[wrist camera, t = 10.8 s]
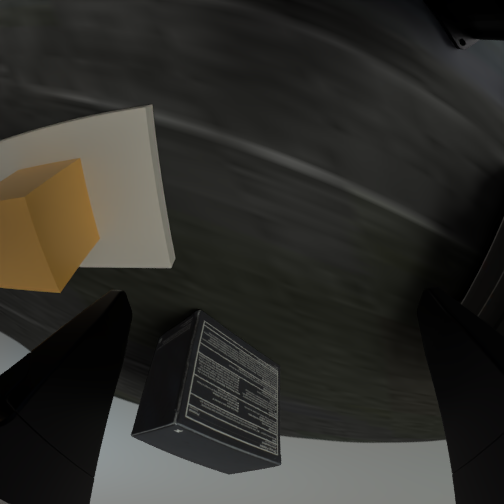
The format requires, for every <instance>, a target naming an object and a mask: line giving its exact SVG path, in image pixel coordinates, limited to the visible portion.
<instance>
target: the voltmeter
mask: <svg viewBox="0 0 504 504" xmlns="http://www.w3.org/2000/svg"><path fill="white" fill-rule="evenodd" d="M459 303H460V304H462V305H463V306H465V307H466V308H467V309H469V310H470V311H471V312H473V313H474V314H475V315H477V316H478V317H479V318H481V319H482V320H483V321H485V322H486V323H487V324H488V325H490V326H491V327H492V328H494V329H495V330H496V331H497V332H499V333H500V334H501V335H503V336H504V218H503V220H502V222H501V225H500V227H499V229H498V232H497V234H496V236H495V238H494V241H493V243H492V245H491V247H490V249H489V251H488V254H487V256H486V258H485V260H484V262H483V264H482V266H481V268H480V270H479V272H478V274H477V276H476V277H475V279H474V281H473V283H472V285H471V287H470V289H469V290H468V292H467V294H466V296H465V298H464V299H463V300H462V301H460V302H459Z"/></svg>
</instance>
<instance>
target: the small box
mask: <svg viewBox="0 0 504 504" xmlns="http://www.w3.org/2000/svg"><path fill="white" fill-rule="evenodd" d="M131 436H132V437H134V438H136V439H138V440H141V441H143V442H145V443H147V444H149V445H152V446H154V447H156V448H159V449H161V450H163V451H166V452H168V453H170V454H173V455H176V456H178V457H180V458H183V459H186V460H188V461H191V462H194V463H196V464H199V465H202V466H205V467H208V468H211V469H214V470H217V471H220V472H223V473H226V474H235V473H242V472H247V471H253V470H259V469H265V468H270V467H275V466H279V465H281V454H280V366H279V365H278V364H276V363H275V362H273V361H272V360H270V359H269V358H268V357H266V356H265V355H263V354H262V353H260V352H259V351H257V350H256V349H255V348H253V347H252V346H250V345H249V344H247V343H246V342H245V341H243V340H242V339H240V338H239V337H238V336H236V335H235V334H233V333H232V332H230V331H229V330H228V329H226V328H225V327H224V326H222V325H221V324H220V323H218V322H217V321H215V320H214V319H213V318H211V317H210V316H209V315H207V314H206V313H205V312H203V311H202V310H198V311H196V312H194V313H193V314H191V316H190V317H187V318H186V319H185V320H184V321H182V322H181V323H180V324H178V325H177V326H175V327H174V328H172V329H171V330H168V331H167V332H166V333H164V334H163V335H162V336H161V337H160V338H159V340H158V344H157V347H156V350H155V354H154V357H153V360H152V363H151V367H150V370H149V374H148V377H147V381H146V384H145V387H144V391H143V394H142V398H141V401H140V405H139V408H138V412H137V416H136V419H135V423H134V427H133V430H132V433H131Z"/></svg>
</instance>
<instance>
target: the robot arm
mask: <svg viewBox="0 0 504 504" xmlns="http://www.w3.org/2000/svg"><path fill="white" fill-rule="evenodd" d="M424 1H425V3H426V4H427V5H428V7H429V8H430V9H431V11H432V12H433V14H434V15H435V16H436V18H437V19H438V21H439V22H440V24H441V25H442V27H443V28H444V30H445V31H446V33H447V34H448V36H449V37H450V39H451V40H452V42H453V44H454V45H455V46H456V48H458V49H462V50H465V49H467V48H469V47H470V46H471V45H473V44H474V43H476V42H477V41H479V40H480V39H481V40H503V41H504V0H424ZM460 39H461V40H462V45H461V44H460V42H459V40H460ZM417 316H418V320H419V325H420V330H421V335H422V340H423V345H424V350H425V355H426V359H427V363H428V366H429V370H430V373H431V377H432V381H433V384H434V388H435V392H436V396H437V400H438V404H439V408H440V413H441V417H442V422H443V426H444V431H445V436H446V441H447V446H448V452H449V457H450V463H451V469H452V473H453V474H452V477H453V484H454V492H455V501H456V504H504V336H503V335H501V334H500V333H499V332H497V331H496V330H495V329H494V328H492V327H491V326H490V325H488V324H487V323H486V322H485V321H483V320H482V319H481V318H479V317H478V316H477V315H475V314H474V313H473V312H471V311H470V310H469V309H467V308H466V307H465V306H463V305H462V304H460V303H459V302H458V301H456V300H455V299H454V298H452V297H451V296H449V295H448V294H447V293H445V292H444V291H442V290H441V289H440V288H438V287H428V288H426V289H425V290H424V292H423V295H422V297H421V300H420V303H419V306H418V309H417ZM131 321H132V310H131V307H130V304H129V301H128V298H127V295H126V293H125V292H124V291H123V290H111V291H109V292H108V293H107V294H105V295H104V296H103V297H101V298H100V299H98V300H97V301H96V302H94V303H93V304H92V305H90V306H89V307H88V308H86V309H85V310H84V311H82V312H81V313H80V314H78V315H77V316H76V317H75V318H73V319H72V320H71V321H69V322H68V323H67V324H65V325H64V326H63V327H61V328H60V329H59V330H58V331H56V332H55V333H54V334H52V335H51V336H50V337H49V338H47V339H46V340H45V341H44V342H42V343H41V344H40V345H38V346H37V347H36V348H35V349H33V350H32V351H31V353H28V354H27V355H26V356H25V357H24V358H23V359H21V360H20V361H18V362H17V363H16V364H15V365H13V366H12V367H11V368H9V369H8V370H7V371H5V372H4V373H3V374H1V375H0V504H90V498H91V493H92V487H93V482H94V478H93V477H94V476H95V471H96V466H97V461H98V457H99V453H100V448H101V444H102V439H103V435H104V431H105V427H106V423H107V419H108V415H109V411H110V408H111V404H112V400H113V396H114V393H115V389H116V385H117V382H118V378H119V375H120V372H121V368H122V365H123V361H124V356H125V351H126V346H127V341H128V336H129V331H130V326H131Z"/></svg>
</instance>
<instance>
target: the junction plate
mask: <svg viewBox="0 0 504 504" xmlns="http://www.w3.org/2000/svg"><path fill="white" fill-rule="evenodd" d="M77 158H80V159H81V164H82V169H83V174H84V178H85V183H86V187H87V191H88V196H89V200H90V204H91V208H92V211H93V215H94V219H95V223H96V226H97V230H98V234H99V237H100V239H99V241H98V242H97V243H96V244H95V246H94V247H93V248H92V250H91V251H90V252H89V254H88V255H87V256H86V258H85V259H84V260H83V262H82V263H81V264H80V266H79V267H114V268H172V265H173V263H174V260H175V254H174V249H173V243H172V238H171V232H170V227H169V221H168V215H167V209H166V203H165V197H164V191H163V184H162V178H161V171H160V164H159V157H158V149H157V141H156V133H155V125H154V116H153V107H152V105H145V106H138V107H132V108H126V109H120V110H115V111H110V112H104V113H99V114H95V115H90V116H85V117H81V118H76V119H72V120H68V121H64V122H60V123H56V124H52V125H49V126H45V127H41V128H38V129H35V130H31V131H28V132H25V133H21V134H18V135H15V136H12V137H9V138H6V139H3V140H0V181H2V180H3V179H5V178H7V177H8V176H10V175H11V174H13V173H14V172H16V171H17V170H20V169H24V168H29V167H34V166H39V165H44V164H49V163H54V162H59V161H65V160H71V159H77Z"/></svg>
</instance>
